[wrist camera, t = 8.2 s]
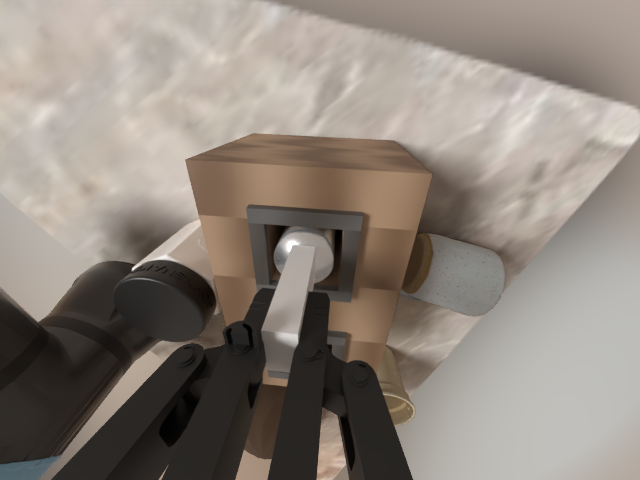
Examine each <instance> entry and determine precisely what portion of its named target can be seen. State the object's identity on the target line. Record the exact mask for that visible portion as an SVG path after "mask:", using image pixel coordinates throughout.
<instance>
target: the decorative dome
mask: <svg viewBox="0 0 640 480" xmlns="http://www.w3.org/2000/svg"><path fill="white" fill-rule="evenodd" d="M286 388H287V386H278V385H269V384H262V388H261V391H260V395H259V398H258V402H257V405H256V409H255V412H254V416H253V419H252V423H251V426H250V430H249V433H248V437H247V440H246V444H245V447H244V450H246V451H247V452H248V453H250V454H252V455H254V456H256V457H258V458H262V459H272V456H273V451H274V446H275V441H276V436H277V431H278V427H279V422H280V417H281V412H282V407H283V402H284V397H285V393H286Z"/></svg>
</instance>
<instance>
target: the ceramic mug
mask: <svg viewBox="0 0 640 480" xmlns="http://www.w3.org/2000/svg"><path fill="white" fill-rule="evenodd" d="M505 279H506V273H505V267H504V264H503V262H502V260H501V258H500V257H499V256H498V255H497V254H496V253H495V252H494V251H492V250H490V249H487V248H483V247H480V246H476V245H473V244H469V243H465V242H462V241H458V240H454V239H450V238H447V237H444V236H440V235H436V234H428V233H421V234H418V235H416V237H415V240H414V244H413V248H412V251H411V255H410V259H409V262H408V266H407V269H406V273H405V277H404V280H403V284H402V287H401V291H400V295H402V296H403V297H405V298H407V299H410V300H413V301H418V302H430V303H433V304H436V305H439V306H441V307H444V308H447V309H450V310H452V311H455V312H458V313H461V314H464V315H468V316H480V315H483V314H485V313H487V312H488V311H490V310H491V309H492V308H493V307H494V306H495V305H496V303H497V302H498V301H499V299H500V297H501V295H502V293H503V290H504V286H505Z"/></svg>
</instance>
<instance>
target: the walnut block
mask: <svg viewBox="0 0 640 480" xmlns="http://www.w3.org/2000/svg"><path fill="white" fill-rule="evenodd" d="M185 161H186V165H187V169H188V173H189V177H190V181H191V186H192V190H193V194H194V198H195V202H196V206H197V210H198V214H199V218H200V222H201V226H202V230H203V234H204V238H205V243H206V247H207V251H208V255H209V259H210V263H211V267H212V271H213V275H214V279H215V283H216V287H217V291H218V295H219V300H220V304H221V308H222V312H223V316H224V320H225V324H226V327H227V326H229V325H230V324H231V323H234V322H236V321H243V320H244V318H245V316H246V314H247V312H248V310H249V307H250V305H251V303H252V301H253V298H254V296H255V294H256V293H257V292H258V291H259V290H260V289H261V288H271V289H276V288H277V285H278V283H279V280H280V277H281V273H280V272H279V271H278V269H277V268H276V266H275V263H274V252H275V249H276V247H277V244H278V242H279V240H280V238H281V236H282V234H283V231H284V229H285V227H286V226H298V227H311V228H325V229H336V234H335V249H334V263H333V268H332V271H331V273H330V274H329V275H328V276H327V277H326V278H325V279H324V280H322V281H320V282H317V283H314V287H313V292H322V293H327V294H328V297H329V299H330V309H329V323H328V336H327V345H328V348H329V350H330V352H331V353H332V354H333V355H334V356H335V357H337V358H338V359H340V360H342V361H345V362H347V363H348V362H350V361H353V360H361V361H363V362H366V363H368V364H369V365H370V366H371V367H372V368H373V369H374V371H375V373H376V375H377V374H378V371H379V367H380V363H381V360H382V356H383V353H384V349H385V345H386V342H387V338H388V334H389V331H390V327H391V324H392V320H393V316H394V313H395V309H396V306H397V302H398V298H399V295H400V291H401V287H402V284H403V280H404V277H405V273H406V269H407V266H408V262H409V259H410V255H411V251H412V248H413V244H414V240H415V237H416V233H417V230H418V226H419V222H420V219H421V215H422V211H423V208H424V204H425V201H426V197H427V193H428V190H429V186H430V183H431V179H432V175H433V174H432V173H431V172H430V171H429V170H427V169H426V168H425V167H424V166H423V165H422V164H420V163H419V162H418V161H417V160H416V159H415V158H414V157H412V156H411V155H410V154H409V153H408V152H407V151H405V150H404V149H403V148H402V147H401V146H400V145H398V144H397V143H396V142H395V141H391V140H371V139H351V138H331V137H311V136H292V135H272V134H251V135H248V136H246V137H243V138H240V139H238V140H235V141H233V142H230V143H227V144H225V145H222V146H220V147H217V148H214V149H212V150H209V151H207V152H204V153H201V154H199V155H196V156H194V157H191V158H188V159H186V160H185ZM288 378H289V373H288V372H279V371H270V370H266V365H265V368H264V371H263V384H269V385H278V386H287V383H288Z"/></svg>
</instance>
